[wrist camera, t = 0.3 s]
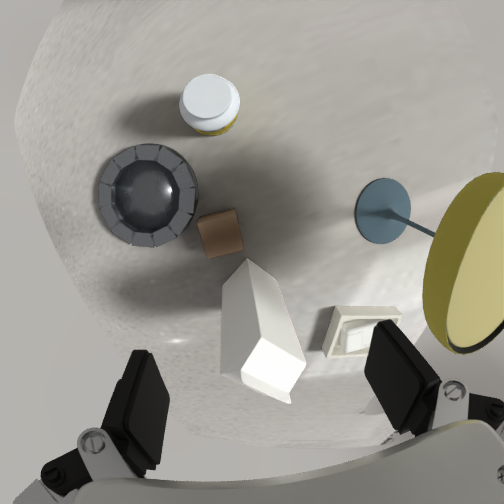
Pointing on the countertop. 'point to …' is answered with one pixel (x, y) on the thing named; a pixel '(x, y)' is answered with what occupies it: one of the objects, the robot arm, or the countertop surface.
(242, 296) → the milk
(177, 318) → the countertop surface
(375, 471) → the robot arm
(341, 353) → the soap dish
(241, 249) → the walnut block
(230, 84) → the pill bottle
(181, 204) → the collar
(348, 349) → the soap
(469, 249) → the cocktail glass
